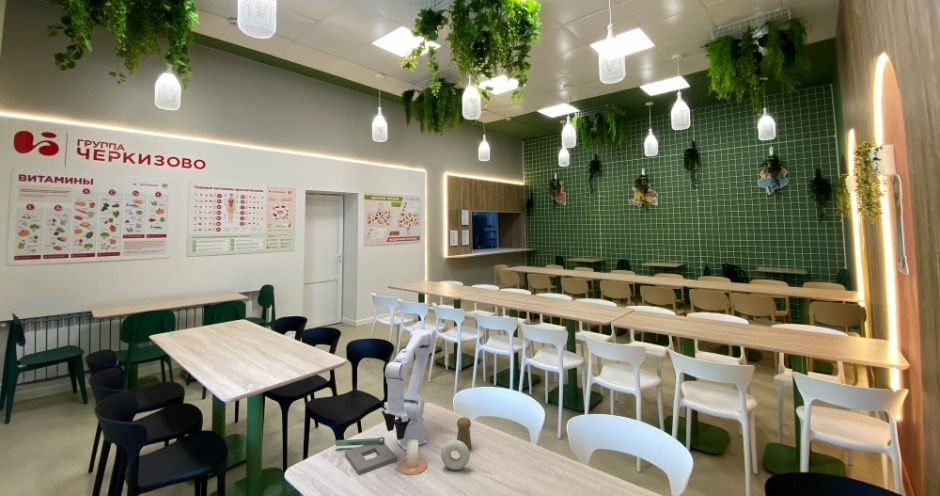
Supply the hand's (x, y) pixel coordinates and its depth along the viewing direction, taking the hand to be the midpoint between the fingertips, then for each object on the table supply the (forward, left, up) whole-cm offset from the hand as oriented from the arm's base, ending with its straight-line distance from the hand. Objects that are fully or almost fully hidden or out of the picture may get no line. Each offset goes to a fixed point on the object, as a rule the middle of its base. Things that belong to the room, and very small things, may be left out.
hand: (395, 434), depth 136 cm
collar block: (+7, -6, -9) cm, 13 cm away
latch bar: (+7, -15, -8) cm, 18 cm away
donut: (-14, +17, -10) cm, 24 cm away
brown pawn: (-24, +8, -10) cm, 27 cm away
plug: (-3, +6, -9) cm, 12 cm away
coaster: (-3, +7, -9) cm, 12 cm away
